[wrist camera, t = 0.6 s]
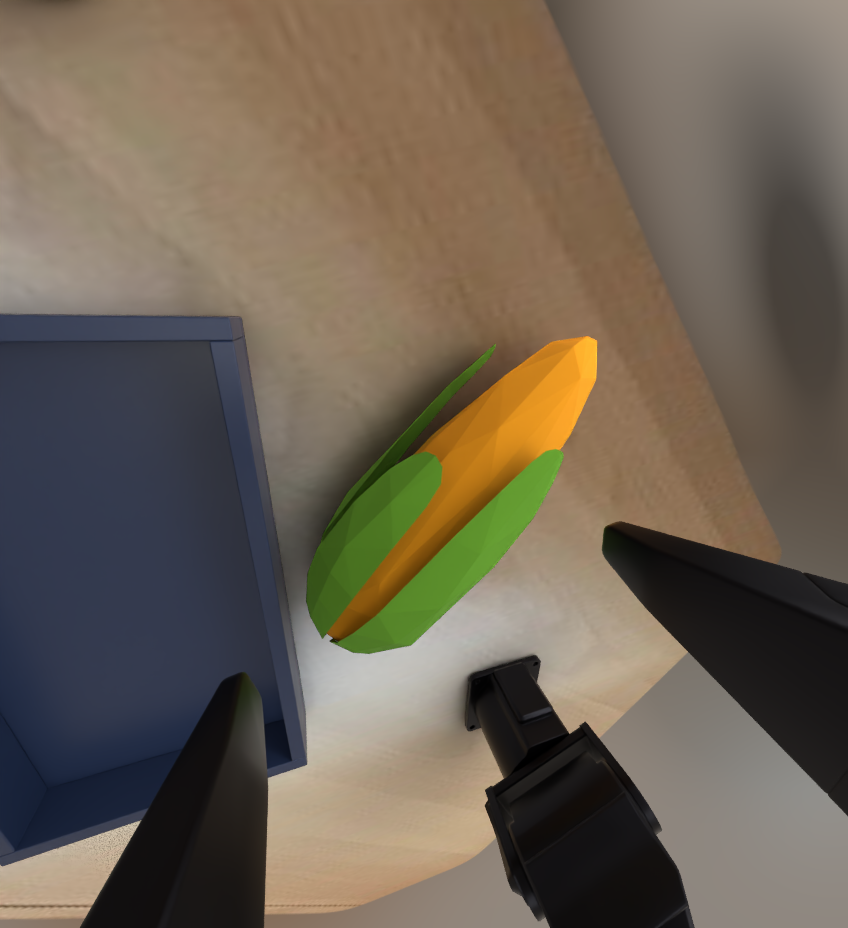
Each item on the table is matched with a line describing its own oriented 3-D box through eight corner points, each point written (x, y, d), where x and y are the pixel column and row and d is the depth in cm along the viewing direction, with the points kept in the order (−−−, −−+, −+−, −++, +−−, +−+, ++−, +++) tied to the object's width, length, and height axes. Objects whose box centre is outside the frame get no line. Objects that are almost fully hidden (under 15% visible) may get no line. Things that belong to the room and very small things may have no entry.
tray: (305, 712, 25) (307, 765, 22) (42, 789, 21) (1, 867, 18) (241, 316, 16) (229, 317, 13) (-265, 310, 12) (-461, 309, 9)
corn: (259, 687, 14) (630, 263, 12) (262, 561, 20) (505, 272, 19) (398, 718, 18) (692, 400, 16) (363, 603, 24) (571, 369, 22)
